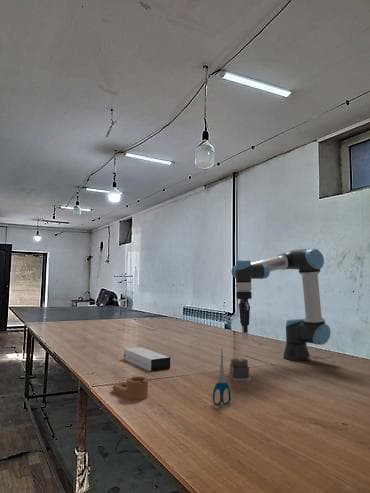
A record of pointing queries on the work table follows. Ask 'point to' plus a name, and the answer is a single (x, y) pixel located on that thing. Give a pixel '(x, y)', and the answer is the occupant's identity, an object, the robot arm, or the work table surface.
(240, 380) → the mounting plate
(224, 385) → the scissors
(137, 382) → the bracket
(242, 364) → the knob
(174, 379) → the work table surface
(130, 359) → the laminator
